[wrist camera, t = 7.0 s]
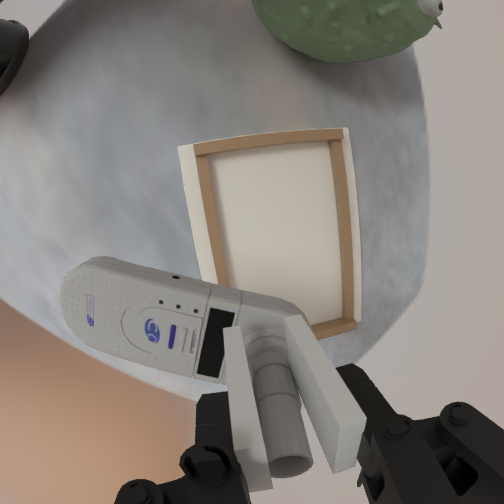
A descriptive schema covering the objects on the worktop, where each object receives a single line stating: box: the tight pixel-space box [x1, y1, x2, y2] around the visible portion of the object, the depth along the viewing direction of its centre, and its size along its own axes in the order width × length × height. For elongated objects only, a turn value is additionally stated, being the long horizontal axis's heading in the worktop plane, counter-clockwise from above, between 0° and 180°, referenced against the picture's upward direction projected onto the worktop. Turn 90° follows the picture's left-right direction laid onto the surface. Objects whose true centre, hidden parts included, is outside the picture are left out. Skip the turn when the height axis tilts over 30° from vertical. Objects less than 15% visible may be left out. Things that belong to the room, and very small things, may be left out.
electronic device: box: [60, 256, 315, 478], centre depth 12 cm, size 5×10×15 cm
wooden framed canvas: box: [178, 127, 362, 340], centre depth 32 cm, size 26×20×3 cm
